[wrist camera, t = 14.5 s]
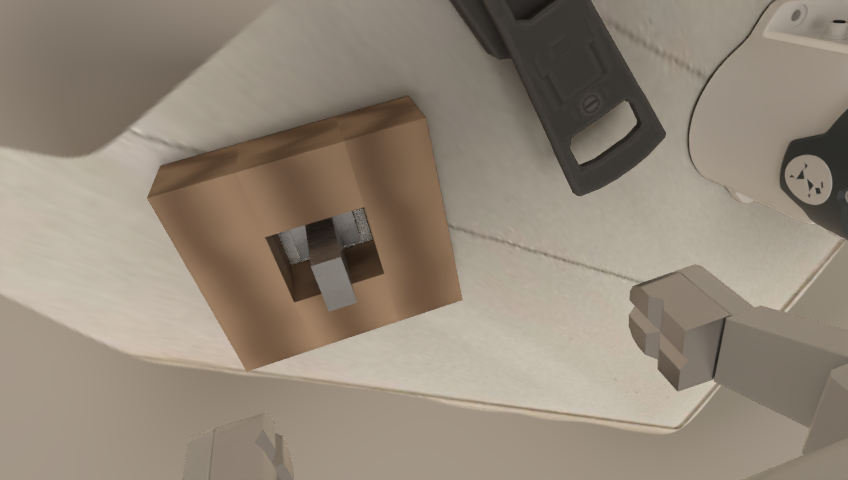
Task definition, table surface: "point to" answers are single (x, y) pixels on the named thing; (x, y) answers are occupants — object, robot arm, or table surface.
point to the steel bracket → (329, 256)
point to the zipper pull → (568, 78)
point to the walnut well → (303, 204)
